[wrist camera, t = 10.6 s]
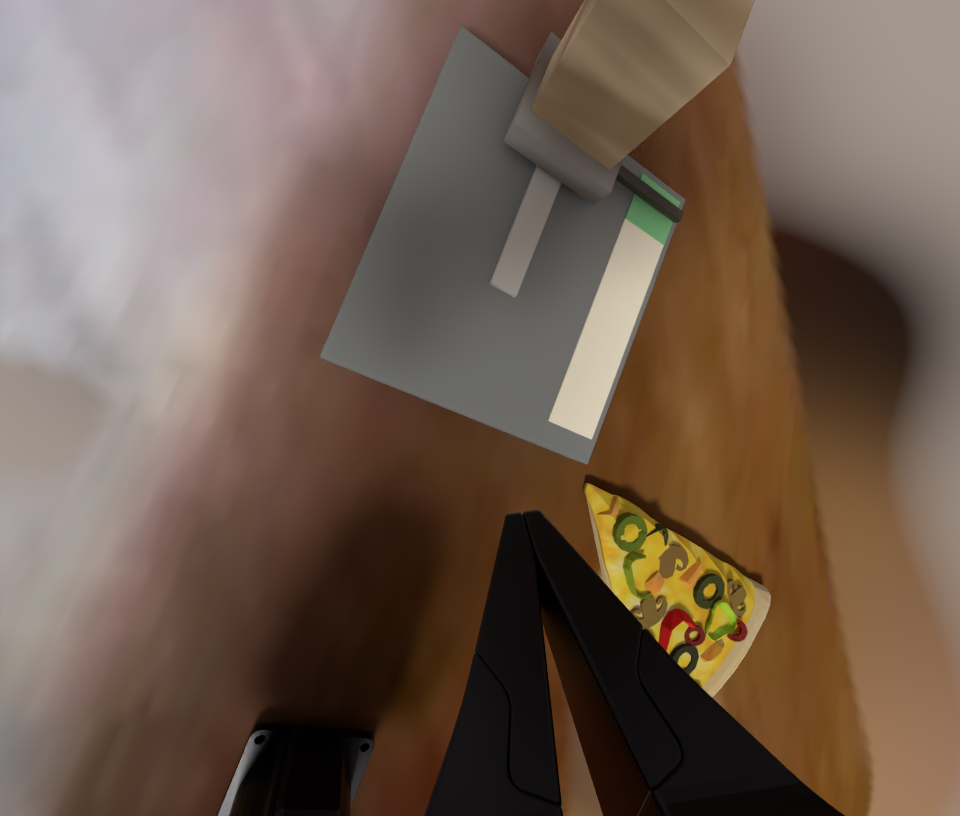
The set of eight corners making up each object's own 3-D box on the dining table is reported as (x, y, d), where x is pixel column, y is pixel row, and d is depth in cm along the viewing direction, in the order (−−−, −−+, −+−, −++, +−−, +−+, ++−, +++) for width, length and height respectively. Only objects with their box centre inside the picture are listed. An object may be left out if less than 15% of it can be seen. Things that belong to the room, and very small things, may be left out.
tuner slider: (663, 255, 22) (822, 186, 14) (501, 143, 19) (599, -27, 11) (690, 183, 22) (860, 78, 15) (535, 59, 19) (655, -165, 11)
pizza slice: (640, 738, 28) (672, 778, 25) (494, 555, 23) (512, 579, 20) (759, 596, 31) (799, 617, 29) (652, 409, 27) (687, 412, 24)
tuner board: (569, 458, 24) (590, 465, 22) (323, 359, 19) (319, 356, 17) (660, 213, 25) (689, 197, 23) (451, 59, 20) (462, 19, 18)
